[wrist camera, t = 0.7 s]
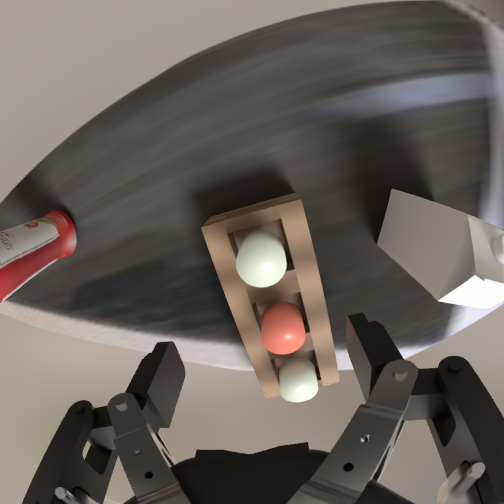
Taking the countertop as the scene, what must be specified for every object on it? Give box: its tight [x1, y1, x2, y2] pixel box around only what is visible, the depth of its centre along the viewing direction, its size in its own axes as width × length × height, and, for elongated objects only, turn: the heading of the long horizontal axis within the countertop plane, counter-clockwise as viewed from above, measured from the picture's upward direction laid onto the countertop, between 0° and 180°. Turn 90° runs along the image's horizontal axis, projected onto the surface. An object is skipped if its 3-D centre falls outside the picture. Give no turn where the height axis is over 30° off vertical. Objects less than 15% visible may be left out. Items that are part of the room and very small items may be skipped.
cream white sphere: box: [279, 357, 318, 402], centre depth 32 cm, size 4×4×4 cm
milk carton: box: [377, 189, 504, 309], centre depth 23 cm, size 7×7×19 cm
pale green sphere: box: [236, 230, 287, 287], centre depth 27 cm, size 4×4×4 cm
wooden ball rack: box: [201, 193, 340, 398], centre depth 33 cm, size 24×10×5 cm, turn 17°
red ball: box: [261, 301, 306, 354], centre depth 29 cm, size 4×4×4 cm
